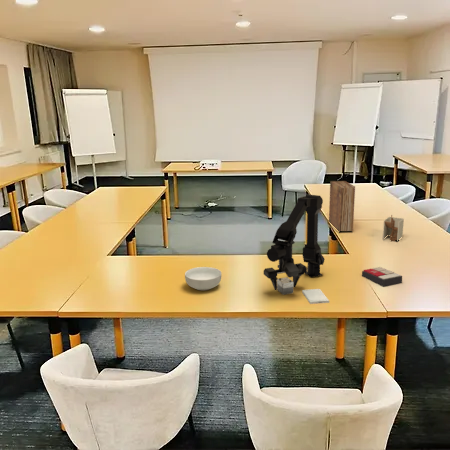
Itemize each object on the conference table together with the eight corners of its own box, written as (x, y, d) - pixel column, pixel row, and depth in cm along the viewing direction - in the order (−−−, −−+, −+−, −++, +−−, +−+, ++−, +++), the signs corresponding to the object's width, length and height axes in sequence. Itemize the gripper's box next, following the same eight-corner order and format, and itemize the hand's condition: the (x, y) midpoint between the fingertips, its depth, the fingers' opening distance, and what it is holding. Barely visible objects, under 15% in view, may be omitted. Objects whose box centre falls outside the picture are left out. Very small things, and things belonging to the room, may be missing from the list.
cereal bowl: (209, 297, 194) (209, 282, 192) (178, 290, 202) (177, 276, 200) (228, 283, 208) (228, 269, 206) (198, 278, 216) (197, 264, 214)
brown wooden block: (353, 232, 286) (355, 186, 278) (338, 233, 286) (340, 187, 278) (341, 222, 310) (343, 180, 303) (328, 223, 310) (330, 180, 302)
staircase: (382, 240, 269) (384, 214, 264) (387, 236, 277) (389, 210, 273) (397, 243, 264) (399, 215, 260) (402, 238, 273) (404, 212, 268)
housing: (277, 290, 200) (277, 278, 198) (287, 288, 201) (287, 276, 200) (283, 295, 194) (283, 282, 193) (293, 293, 196) (293, 281, 195)
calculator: (380, 265, 217) (402, 274, 203) (379, 274, 218) (402, 283, 204) (361, 269, 213) (383, 278, 199) (361, 278, 214) (383, 287, 200)
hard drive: (302, 289, 197) (310, 301, 185) (320, 288, 197) (329, 300, 185) (302, 293, 197) (310, 305, 185) (320, 292, 198) (329, 303, 186)
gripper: (274, 264, 183) (273, 299, 187) (314, 258, 189) (313, 292, 193) (262, 256, 193) (263, 289, 197) (301, 250, 199) (300, 283, 203)
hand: (285, 288), depth 198 cm, fingers open, 9 cm apart
